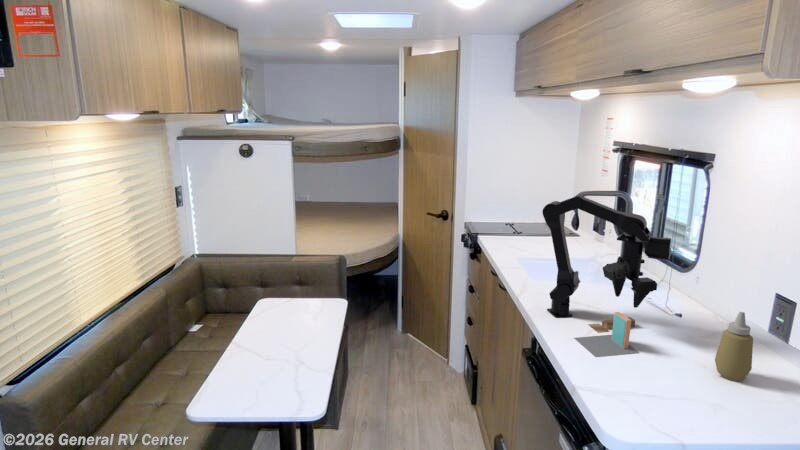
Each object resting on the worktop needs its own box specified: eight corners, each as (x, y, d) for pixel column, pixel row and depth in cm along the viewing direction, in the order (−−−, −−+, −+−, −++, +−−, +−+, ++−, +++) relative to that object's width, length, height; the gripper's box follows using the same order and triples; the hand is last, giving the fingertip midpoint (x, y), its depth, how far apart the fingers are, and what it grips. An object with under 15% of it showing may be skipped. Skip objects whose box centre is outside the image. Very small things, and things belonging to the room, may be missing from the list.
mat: (573, 339, 144) (573, 337, 144) (614, 336, 147) (614, 334, 146) (595, 359, 133) (595, 357, 133) (639, 354, 135) (640, 353, 135)
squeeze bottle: (705, 370, 127) (715, 309, 123) (726, 365, 129) (736, 304, 125) (735, 386, 119) (747, 321, 115) (756, 380, 122) (769, 316, 118)
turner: (587, 326, 154) (588, 318, 153) (626, 323, 156) (627, 315, 155) (597, 334, 148) (598, 326, 147) (637, 331, 150) (638, 322, 149)
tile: (610, 339, 143) (613, 312, 141) (615, 339, 143) (618, 311, 141) (623, 349, 137) (626, 320, 135) (627, 348, 138) (631, 320, 136)
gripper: (591, 248, 155) (587, 292, 158) (627, 265, 137) (621, 315, 140) (622, 246, 156) (617, 290, 160) (661, 263, 138) (654, 312, 142)
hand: (626, 301), depth 150 cm, fingers open, 9 cm apart
